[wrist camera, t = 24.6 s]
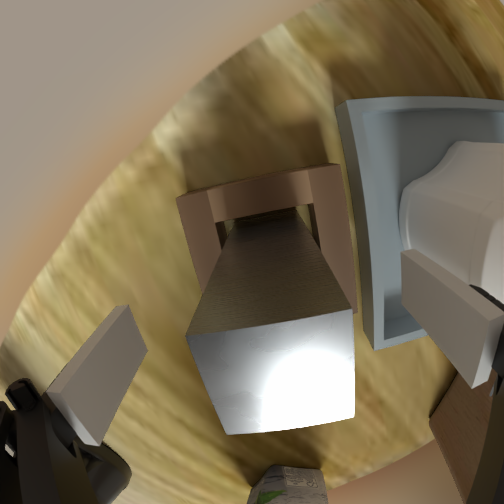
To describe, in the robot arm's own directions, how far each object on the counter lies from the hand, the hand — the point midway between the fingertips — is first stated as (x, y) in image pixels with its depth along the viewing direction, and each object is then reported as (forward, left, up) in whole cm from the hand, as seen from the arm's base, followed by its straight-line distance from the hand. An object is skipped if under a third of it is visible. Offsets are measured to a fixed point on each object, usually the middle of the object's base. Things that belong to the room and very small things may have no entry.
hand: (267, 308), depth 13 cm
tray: (+15, 0, -9) cm, 18 cm away
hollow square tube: (0, 0, -9) cm, 9 cm away
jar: (+16, 0, -8) cm, 18 cm away
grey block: (0, 0, -9) cm, 9 cm away
